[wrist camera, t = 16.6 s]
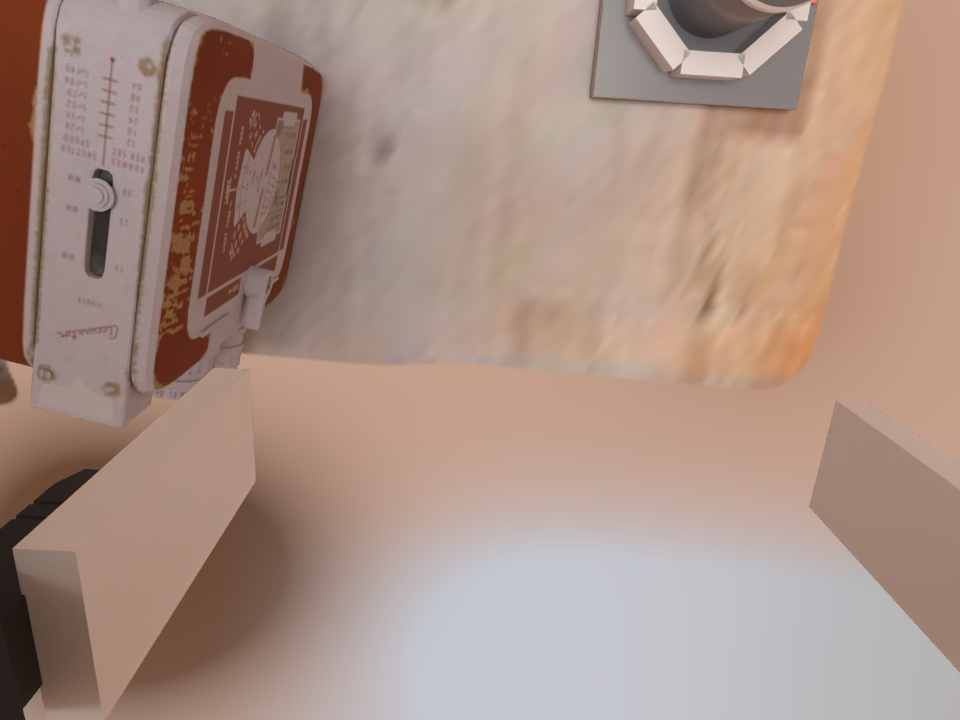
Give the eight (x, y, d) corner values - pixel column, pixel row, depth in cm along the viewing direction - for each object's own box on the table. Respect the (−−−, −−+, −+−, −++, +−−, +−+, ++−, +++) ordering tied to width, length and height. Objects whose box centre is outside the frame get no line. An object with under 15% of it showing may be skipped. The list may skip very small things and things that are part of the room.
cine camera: (152, 335, 44) (-94, 488, 25) (191, 24, 38) (-92, -88, 19) (288, 370, 45) (152, 543, 26) (348, 72, 39) (229, 10, 20)
